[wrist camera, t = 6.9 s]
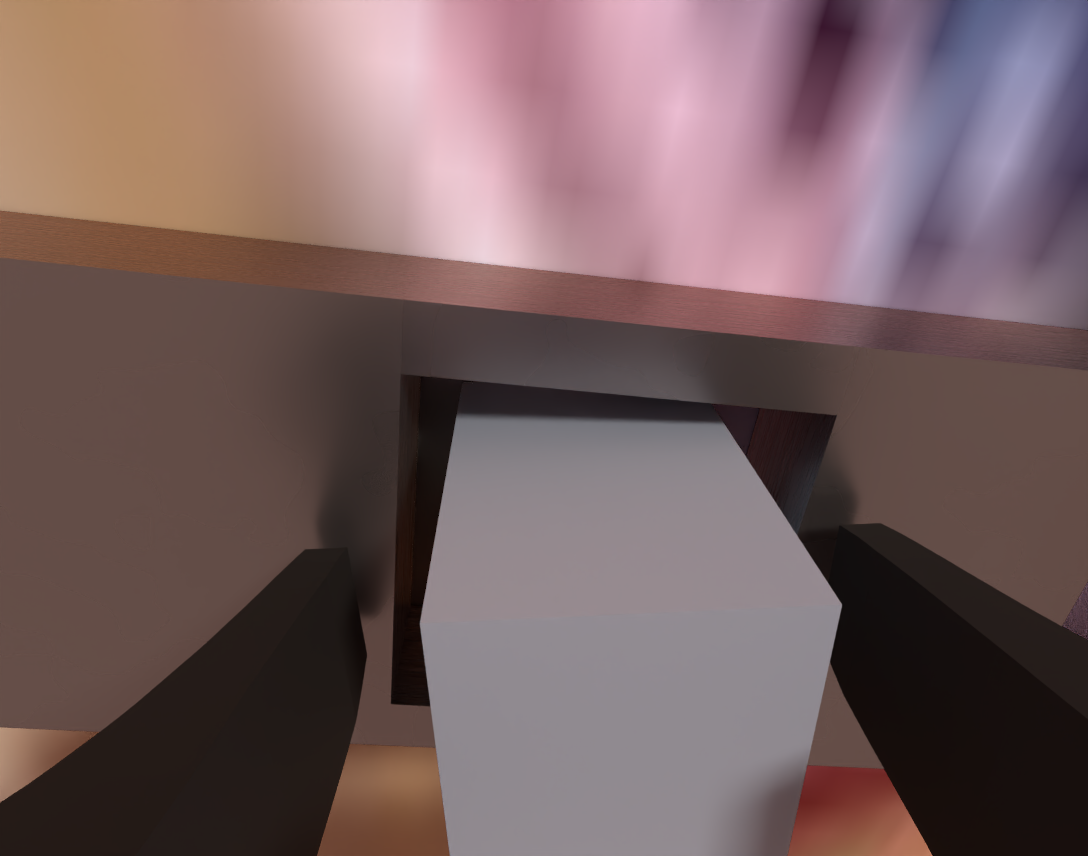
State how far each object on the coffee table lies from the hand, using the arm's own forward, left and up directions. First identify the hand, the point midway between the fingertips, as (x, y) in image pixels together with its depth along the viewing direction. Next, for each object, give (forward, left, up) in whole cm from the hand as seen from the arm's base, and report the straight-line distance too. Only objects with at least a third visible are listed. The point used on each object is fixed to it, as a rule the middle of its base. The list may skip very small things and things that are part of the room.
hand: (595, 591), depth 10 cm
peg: (0, 0, -3) cm, 3 cm away
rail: (-2, 0, -3) cm, 4 cm away
